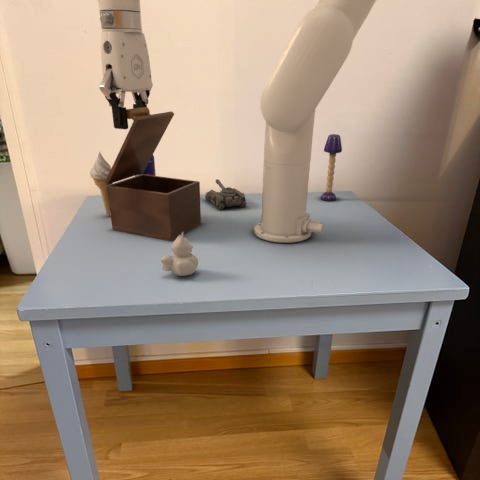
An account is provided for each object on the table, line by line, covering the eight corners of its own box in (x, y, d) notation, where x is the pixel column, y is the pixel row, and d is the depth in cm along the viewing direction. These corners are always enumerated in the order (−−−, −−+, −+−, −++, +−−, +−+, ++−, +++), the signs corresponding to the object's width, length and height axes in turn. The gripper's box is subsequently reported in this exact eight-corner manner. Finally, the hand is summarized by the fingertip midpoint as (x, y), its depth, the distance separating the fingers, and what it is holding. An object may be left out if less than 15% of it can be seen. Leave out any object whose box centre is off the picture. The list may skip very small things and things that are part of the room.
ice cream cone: (124, 214, 111) (116, 150, 104) (112, 221, 107) (102, 154, 99) (105, 212, 113) (96, 148, 105) (91, 218, 108) (81, 152, 101)
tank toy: (201, 199, 123) (200, 180, 121) (233, 196, 127) (233, 177, 124) (216, 212, 114) (216, 191, 111) (250, 208, 117) (251, 187, 115)
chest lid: (174, 113, 96) (157, 97, 96) (138, 120, 86) (119, 101, 86) (143, 173, 106) (127, 158, 106) (107, 184, 96) (90, 168, 96)
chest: (201, 224, 105) (199, 181, 100) (171, 241, 96) (168, 194, 91) (145, 214, 111) (142, 173, 106) (112, 229, 101) (106, 185, 96)
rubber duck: (202, 277, 80) (201, 234, 76) (165, 283, 78) (162, 239, 74) (193, 266, 84) (192, 224, 80) (158, 271, 82) (155, 228, 78)
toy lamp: (337, 201, 123) (345, 136, 114) (320, 201, 123) (326, 136, 115) (334, 197, 127) (341, 133, 119) (317, 197, 127) (324, 133, 119)
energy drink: (155, 203, 120) (151, 156, 114) (135, 203, 120) (130, 155, 114) (159, 198, 124) (155, 152, 118) (139, 197, 124) (135, 151, 118)
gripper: (107, 20, 77) (119, 133, 86) (163, 26, 91) (169, 123, 100) (73, 21, 80) (89, 130, 89) (133, 26, 94) (141, 121, 103)
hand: (131, 125), depth 94 cm, fingers closed on chest lid, 6 cm apart
